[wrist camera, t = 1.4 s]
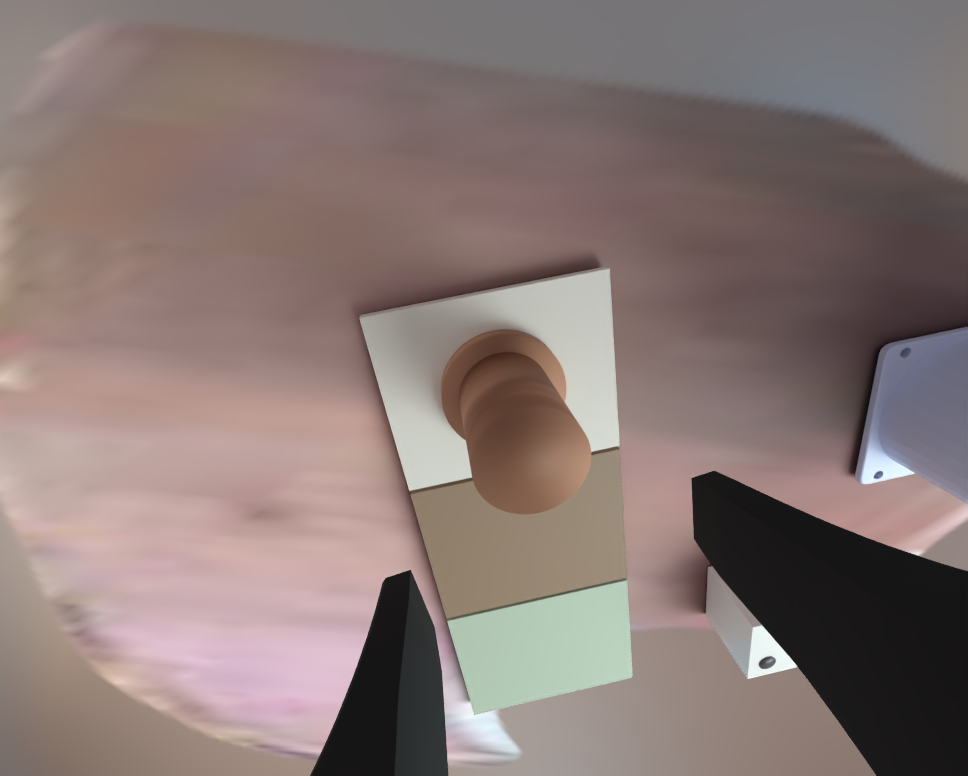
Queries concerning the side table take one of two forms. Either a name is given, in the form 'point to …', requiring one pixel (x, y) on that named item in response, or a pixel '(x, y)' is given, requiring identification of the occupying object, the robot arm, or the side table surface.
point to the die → (742, 631)
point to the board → (507, 536)
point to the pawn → (515, 421)
